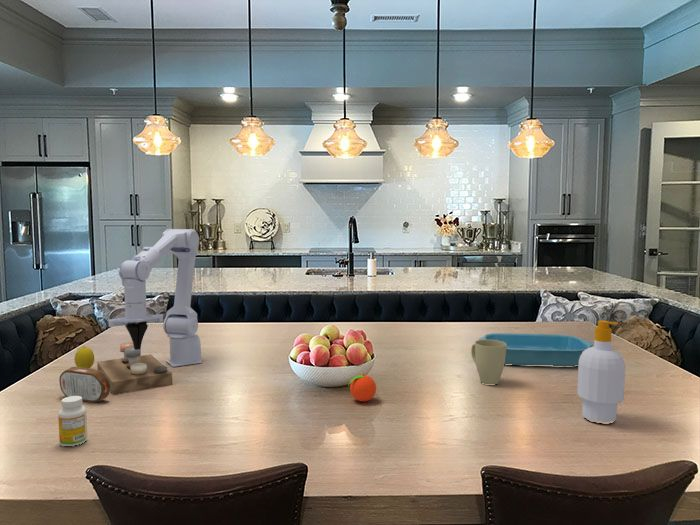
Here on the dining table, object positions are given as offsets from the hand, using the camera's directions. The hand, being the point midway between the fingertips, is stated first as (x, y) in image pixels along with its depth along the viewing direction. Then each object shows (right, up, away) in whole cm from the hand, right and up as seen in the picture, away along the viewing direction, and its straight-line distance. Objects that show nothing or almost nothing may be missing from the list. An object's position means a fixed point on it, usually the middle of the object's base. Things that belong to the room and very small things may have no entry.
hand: (137, 348), depth 158 cm
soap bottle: (+122, -13, -25) cm, 125 cm away
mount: (-3, -10, +6) cm, 12 cm away
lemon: (-21, -9, +13) cm, 27 cm away
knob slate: (-3, -6, +5) cm, 9 cm away
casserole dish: (+124, -9, +28) cm, 127 cm away
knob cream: (+1, -10, 0) cm, 10 cm away
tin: (-9, -12, -12) cm, 19 cm away
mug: (+102, -11, +3) cm, 102 cm away
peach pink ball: (-7, -5, +11) cm, 14 cm away
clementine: (+64, -12, -13) cm, 67 cm away
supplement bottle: (+1, -14, -39) cm, 42 cm away
